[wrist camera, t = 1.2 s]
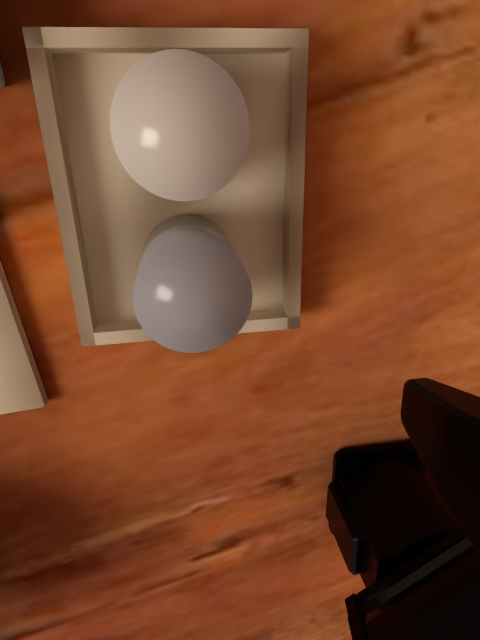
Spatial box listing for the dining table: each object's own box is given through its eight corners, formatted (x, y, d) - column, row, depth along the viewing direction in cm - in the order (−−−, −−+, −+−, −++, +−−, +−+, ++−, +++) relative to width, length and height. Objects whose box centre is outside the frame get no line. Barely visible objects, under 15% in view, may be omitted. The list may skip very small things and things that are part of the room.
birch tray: (297, 38, 17) (309, 28, 16) (291, 315, 22) (299, 328, 20) (35, 37, 16) (22, 27, 14) (87, 332, 20) (81, 346, 19)
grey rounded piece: (230, 211, 19) (251, 236, 14) (233, 297, 20) (253, 347, 15) (137, 216, 18) (125, 243, 13) (148, 303, 20) (139, 357, 15)
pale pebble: (225, 77, 17) (248, 48, 12) (229, 183, 18) (250, 198, 13) (121, 77, 16) (99, 48, 11) (134, 187, 18) (119, 204, 13)
